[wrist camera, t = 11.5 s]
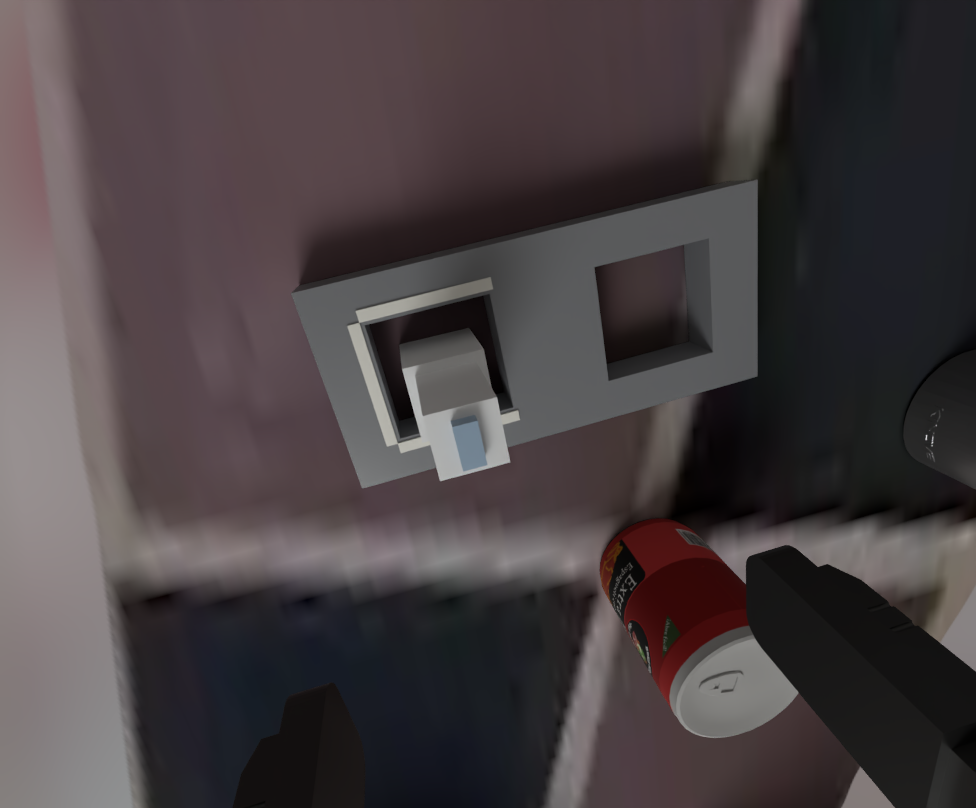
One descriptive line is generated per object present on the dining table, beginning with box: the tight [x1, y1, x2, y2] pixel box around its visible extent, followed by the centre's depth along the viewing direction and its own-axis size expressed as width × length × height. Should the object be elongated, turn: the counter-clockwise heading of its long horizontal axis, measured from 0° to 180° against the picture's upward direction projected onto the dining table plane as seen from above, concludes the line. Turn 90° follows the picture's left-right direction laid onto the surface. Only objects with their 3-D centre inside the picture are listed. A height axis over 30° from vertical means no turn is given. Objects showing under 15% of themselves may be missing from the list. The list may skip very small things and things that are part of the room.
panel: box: [291, 180, 758, 489], centre depth 28 cm, size 24×11×3 cm, turn 102°
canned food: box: [600, 518, 799, 738], centre depth 33 cm, size 8×8×11 cm
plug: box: [399, 328, 510, 481], centre depth 25 cm, size 4×4×10 cm
